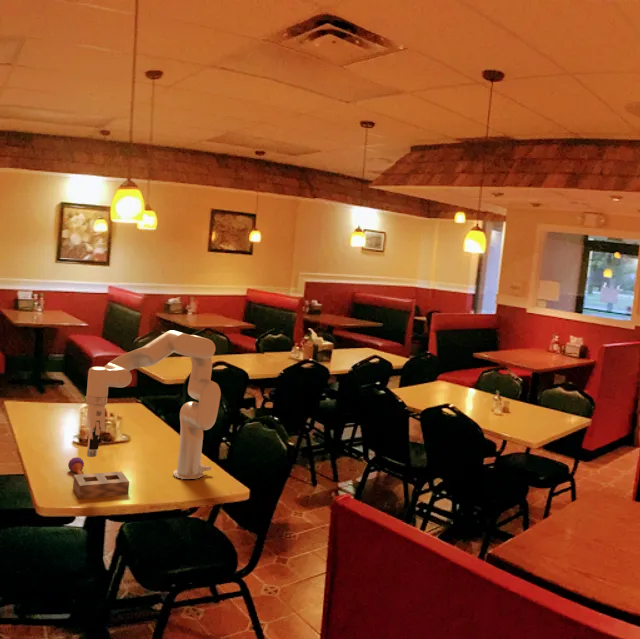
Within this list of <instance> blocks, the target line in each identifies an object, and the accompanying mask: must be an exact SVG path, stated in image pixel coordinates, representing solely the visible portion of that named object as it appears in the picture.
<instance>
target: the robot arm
mask: <svg viewBox="0 0 640 639" xmlns="http://www.w3.org/2000/svg"><path fill="white" fill-rule="evenodd" d="M215 352H216V344H215V343H214V342H213V340H211V339H209V338H206V337H202V336H200V335H195V334H188V333H184V332H181V331H178V330H168V331H166V332H164V333H162V334H161V335H159V336H157V337H156V338H154V339H152V340H151V341H150V342H148V343H146V344H145V345H144V346H141V347H139V348H136V349H133V350H132V351H128V352H126V353H124V354H120V355H119V356H117V357H115V358H114V359H112V360H110V361H109V362H107V364H105V365H104V366H92V367H90V368H89V369H88V372H87V383H86V384H87V385H86V386H87V387H86V395H85V396H86V397H85V404H86V405H87V410H86V411H87V413H86V420H85V421H86V423H85V424H86V426H87V430H88V431H87V441H86V446H87V447H88V436H89V430H90V431H91V439H90V444H89V449H90V450H96V449H97V450H99V443H100V433H101V432H104V431H105V423H106V419H105V418H106V406H107V404H108V396H109V387H111V388H125V387H128V386H129V385H130V384H131V382H132V380H133V377H132V373H131V371H132V370H134V369H138V368H147V367H153V366H156V364H158V363H160V362H161V361H163V360H164V359H165V358H167V357H169V356H170V355H172V354H174V353H175V354H178V355H182V356H185V357H189V358H190V361H191V372H190V375H189V379H188V380H189V381H188V385H187V394H188V396H190V397H191V398H192V399H194V400H196V401H187V402H185V403H183V405H182V406H181V408H180V411H179V421H180V422H179V423H180V432H179V436H180V437H179V447H178V455H177V456H178V457H177V468H176V469H175V470H173V471H172V475H174V476H175V478H176V477H177V478H176V479H178V478H181V479H180V480H183V479H196V478H200V477H202V476H203V477H204V471H205V472H207V471H209V472H210V471H211V470H212V466H211V465H206V464H201V460H202V451H203V450H202V449H203V440H204V431H208V430H210V429H212V427H213V426H214V425H215V423H216V421H217V417H218V413H219V407H220V401H221V395H222V394H221V388H220V386H219V384H218V383H217V382H215V381H213V380H211V378H212V372H213V359H212V357H213V356H214V355H215ZM197 401H198V402H197ZM93 429H95V431H94V430H93ZM100 431H101V432H100ZM93 433H94V434H93ZM174 476H173V477H174ZM203 477H202V478H203ZM200 479H201V478H200ZM196 480H197V479H196Z"/></svg>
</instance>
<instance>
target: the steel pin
mask: <svg viewBox="0 0 640 639" xmlns="http://www.w3.org/2000/svg"><path fill="white" fill-rule="evenodd" d="M93 430H94V431H95V429H93ZM93 434H94V433H93ZM87 438H88V446H87V449H86V456H87V457H89V458H95V457H97V455H98V449H96V450H90V449H89V444H90V439H91V431H90V430H89V436H88V435H87Z"/></svg>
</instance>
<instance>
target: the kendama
mask: <svg viewBox="0 0 640 639" xmlns="http://www.w3.org/2000/svg"><path fill="white" fill-rule="evenodd" d="M67 465H68V469H69V471H71V472H73V473H76V474H77V475H80V474H83V472H82V471H83V468H84V466H85V463H84V461H83V459H82V458H81V457H73V458H71V459H70V460H69V462H68V464H67Z"/></svg>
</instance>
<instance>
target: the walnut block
mask: <svg viewBox="0 0 640 639" xmlns="http://www.w3.org/2000/svg"><path fill="white" fill-rule="evenodd" d="M72 482H73V485H72V489H73V490H74V492H75V495H76V496H77V498H78V499H79V500H81V499H89V498H90V499H91V498H105V497H113V496H114V497H115V496H125V495H129V490H130V481H129V479H128V478H127V477H126V475H125V474H124V473H123V471H121V470H120V471H110V472H96V473H82V474H80V475H78V474H74V475H73V481H72Z"/></svg>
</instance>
